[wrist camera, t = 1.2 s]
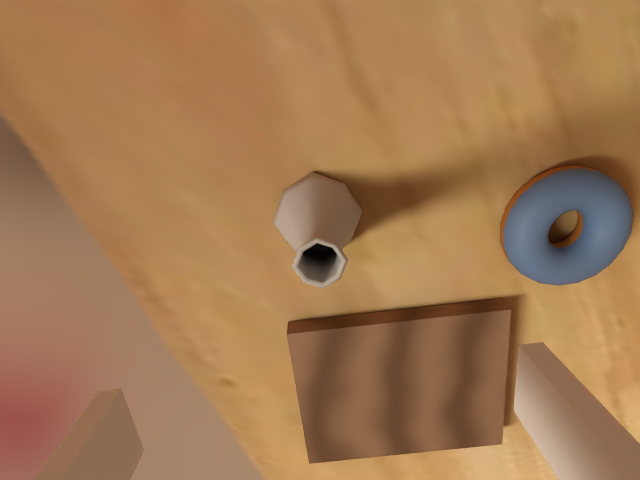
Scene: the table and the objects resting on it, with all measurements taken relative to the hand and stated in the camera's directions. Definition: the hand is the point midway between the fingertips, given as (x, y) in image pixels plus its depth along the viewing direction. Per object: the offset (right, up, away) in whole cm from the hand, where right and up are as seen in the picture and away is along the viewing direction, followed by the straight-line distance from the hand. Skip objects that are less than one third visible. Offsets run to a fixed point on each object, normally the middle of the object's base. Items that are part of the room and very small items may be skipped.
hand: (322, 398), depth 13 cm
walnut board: (+8, -9, +26) cm, 28 cm away
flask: (0, +7, +20) cm, 21 cm away
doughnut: (+20, +7, +20) cm, 29 cm away
